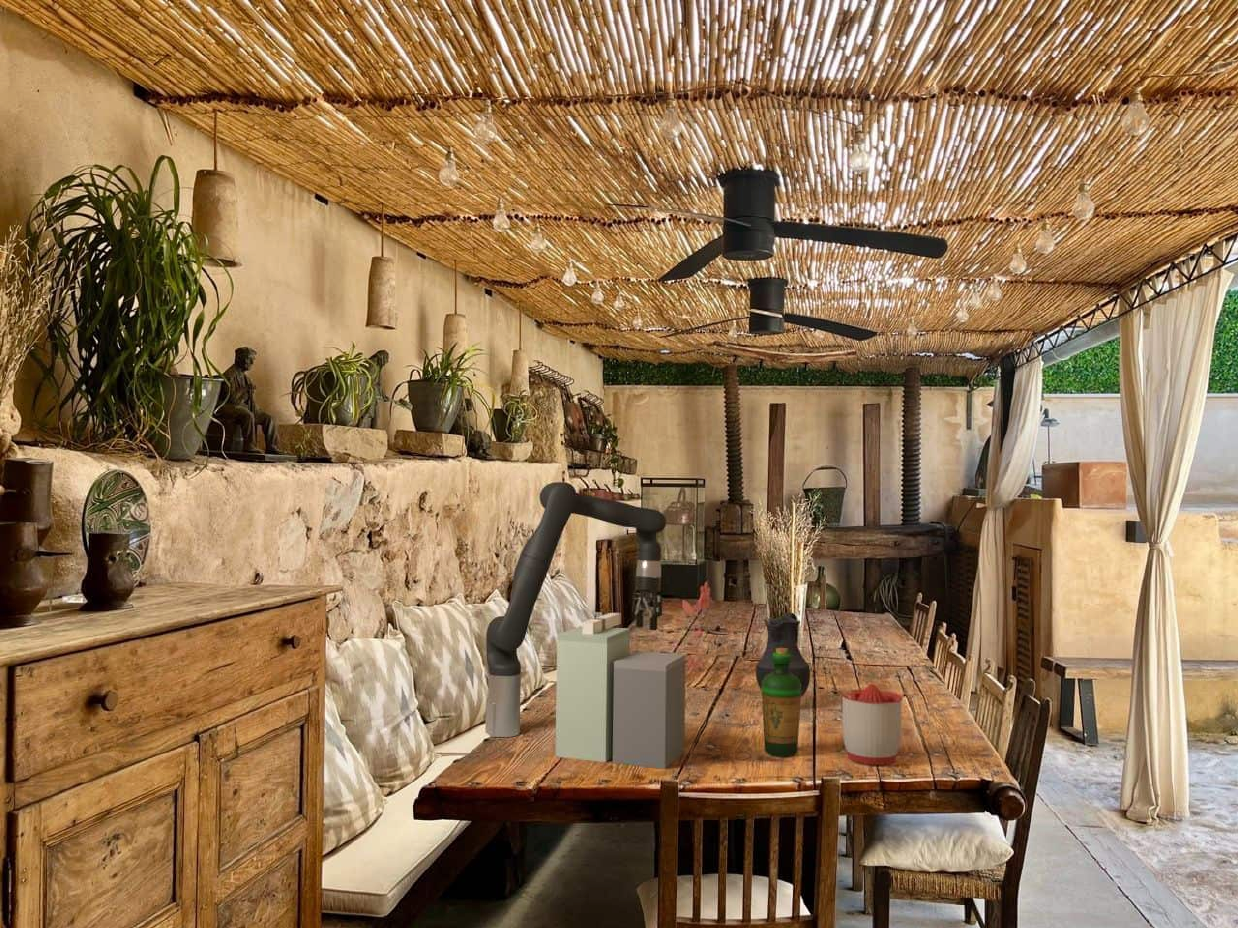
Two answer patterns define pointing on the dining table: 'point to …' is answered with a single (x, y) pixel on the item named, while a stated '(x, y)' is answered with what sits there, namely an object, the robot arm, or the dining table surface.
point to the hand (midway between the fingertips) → (646, 628)
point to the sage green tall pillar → (587, 692)
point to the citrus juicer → (871, 725)
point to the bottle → (781, 707)
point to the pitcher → (783, 636)
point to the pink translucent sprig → (688, 609)
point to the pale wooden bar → (601, 623)
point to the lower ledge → (649, 709)
